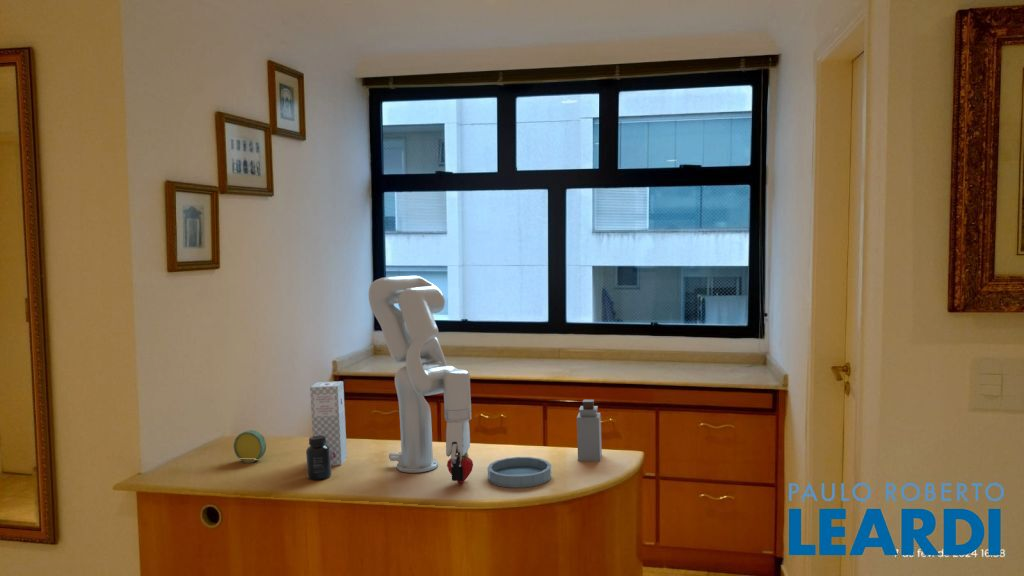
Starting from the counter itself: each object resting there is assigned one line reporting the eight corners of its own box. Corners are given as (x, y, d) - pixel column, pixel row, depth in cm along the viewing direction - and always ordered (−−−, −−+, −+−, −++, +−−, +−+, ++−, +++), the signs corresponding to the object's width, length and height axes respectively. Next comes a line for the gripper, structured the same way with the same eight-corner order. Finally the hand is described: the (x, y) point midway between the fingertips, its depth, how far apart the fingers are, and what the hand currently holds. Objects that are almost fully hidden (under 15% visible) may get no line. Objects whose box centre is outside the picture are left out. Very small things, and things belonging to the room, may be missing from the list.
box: (314, 466, 223) (310, 387, 222) (320, 458, 231) (316, 382, 230) (341, 465, 223) (337, 386, 222) (346, 457, 232) (343, 381, 230)
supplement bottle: (335, 474, 214) (333, 434, 213) (322, 481, 208) (320, 441, 207) (316, 472, 216) (314, 433, 216) (302, 479, 210) (300, 439, 209)
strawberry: (450, 479, 205) (449, 445, 205) (476, 480, 204) (474, 445, 203) (445, 486, 200) (443, 451, 199) (471, 487, 198) (469, 451, 198)
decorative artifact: (234, 462, 230) (232, 432, 230) (246, 456, 237) (244, 426, 237) (262, 463, 228) (261, 432, 228) (274, 456, 235) (272, 426, 235)
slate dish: (482, 487, 198) (482, 475, 197) (495, 467, 215) (494, 456, 215) (547, 488, 195) (546, 476, 194) (554, 468, 212) (553, 457, 212)
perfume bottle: (600, 461, 217) (598, 403, 216) (578, 460, 219) (576, 403, 218) (601, 455, 224) (600, 398, 223) (580, 454, 225) (578, 398, 224)
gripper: (452, 406, 210) (455, 467, 211) (436, 421, 193) (439, 486, 194) (477, 407, 208) (479, 467, 209) (463, 421, 191) (466, 487, 192)
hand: (460, 476), depth 202 cm, fingers closed on strawberry, 6 cm apart
